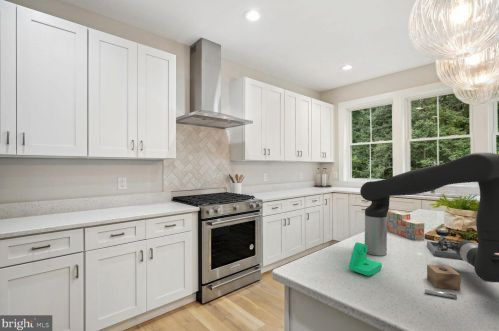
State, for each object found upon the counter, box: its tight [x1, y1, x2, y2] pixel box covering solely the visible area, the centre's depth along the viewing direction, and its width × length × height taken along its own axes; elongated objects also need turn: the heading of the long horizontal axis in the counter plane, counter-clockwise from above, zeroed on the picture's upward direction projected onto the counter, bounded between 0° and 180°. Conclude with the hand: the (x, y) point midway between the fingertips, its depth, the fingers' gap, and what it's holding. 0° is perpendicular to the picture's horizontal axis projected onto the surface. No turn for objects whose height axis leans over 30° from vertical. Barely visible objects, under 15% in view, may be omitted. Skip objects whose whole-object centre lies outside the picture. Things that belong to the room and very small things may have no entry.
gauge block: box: [426, 264, 462, 291], centre depth 87 cm, size 7×7×5 cm
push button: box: [435, 227, 451, 251], centre depth 117 cm, size 7×5×10 cm
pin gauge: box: [424, 289, 458, 299], centre depth 79 cm, size 8×1×1 cm, turn 66°
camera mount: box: [348, 242, 383, 277], centre depth 98 cm, size 12×8×10 cm, turn 130°
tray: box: [426, 240, 464, 261], centre depth 116 cm, size 14×15×2 cm
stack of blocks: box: [387, 210, 425, 241], centre depth 145 cm, size 21×6×12 cm, turn 12°
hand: (455, 242), depth 107 cm, fingers open, 8 cm apart
